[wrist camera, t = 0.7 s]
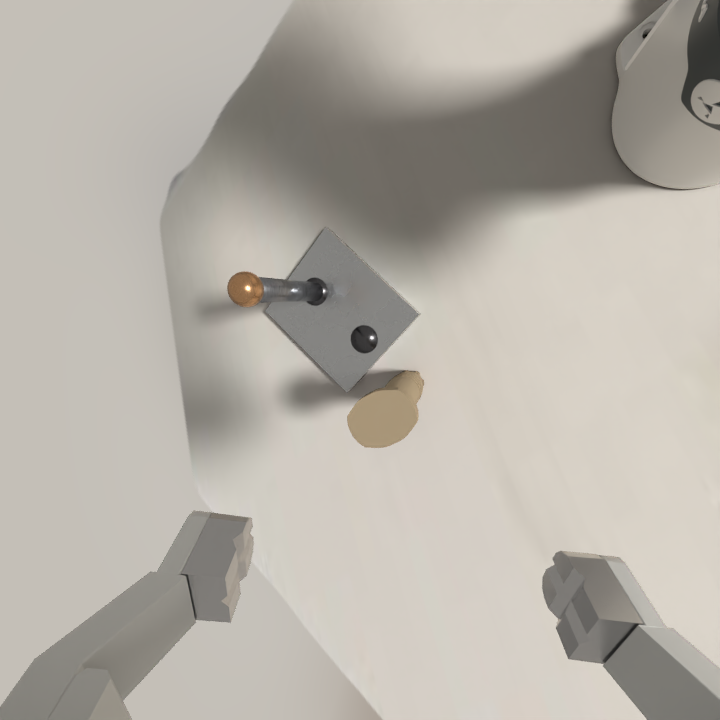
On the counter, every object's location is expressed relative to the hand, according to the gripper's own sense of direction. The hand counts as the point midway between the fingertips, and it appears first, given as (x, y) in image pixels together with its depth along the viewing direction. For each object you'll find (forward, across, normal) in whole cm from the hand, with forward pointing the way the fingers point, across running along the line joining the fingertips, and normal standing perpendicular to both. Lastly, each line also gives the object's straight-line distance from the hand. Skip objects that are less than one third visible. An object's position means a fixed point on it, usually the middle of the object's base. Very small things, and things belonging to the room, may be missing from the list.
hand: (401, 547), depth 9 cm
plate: (+38, +5, +8) cm, 39 cm away
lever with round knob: (+38, +8, +5) cm, 40 cm away
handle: (+33, -5, +14) cm, 36 cm away
